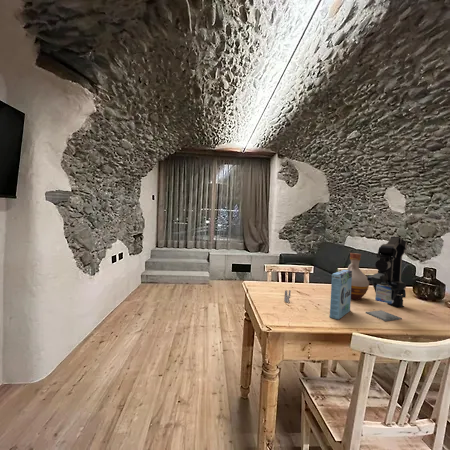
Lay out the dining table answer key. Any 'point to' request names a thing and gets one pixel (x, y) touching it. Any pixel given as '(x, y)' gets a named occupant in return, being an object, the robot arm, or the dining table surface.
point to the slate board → (383, 315)
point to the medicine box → (383, 293)
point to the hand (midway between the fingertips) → (384, 297)
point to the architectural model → (286, 297)
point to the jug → (357, 278)
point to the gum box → (340, 294)
